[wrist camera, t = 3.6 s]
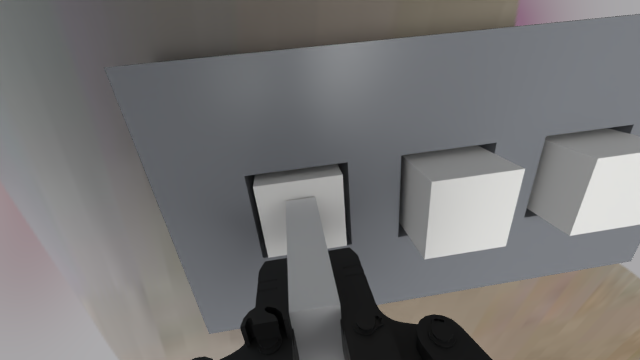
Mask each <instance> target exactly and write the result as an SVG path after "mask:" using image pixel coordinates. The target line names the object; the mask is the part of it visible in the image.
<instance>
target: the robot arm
mask: <svg viewBox="0 0 640 360" xmlns="http://www.w3.org/2000/svg"><path fill="white" fill-rule="evenodd" d="M286 232H287V258H283V259H277V260H270V261H265V262H264V264H263V265H262V267H261V269H260V270H259V275H258V285H257V295H256V305H255V308H254V309H252V310H251V311H249V312H248V313H247V315H246V316H245V317H244V318H243V321H242V323H241V326H240V328H241V331H242V335H243V338H244V341H245V344H244V345H243V346H242V347H241V348H240V349H239V350H237V351H236V352H234V353H232V354H230V355H228V356H226V357H224V358H222V359H220V360H492V359H491V358H490V357H489V356H488V355H487V354H486V353H485V352H484V350H483V349H482V348H481V347H480V346H479V345H478V344H477V343H476V342H475V341H474V340H473V339H472V338H471V337H470V336H469V335H468V334H467V333H466V332H465V331H464V329H463V328H462V327H461V326H460V325H458V324H457V323H456V322H455V321H453V320H452V319H450V318H447V317H445V316H442V315H434V314H433V315H429V316H425V317H424V318H423V319H421V320H420V321H419V323H418V324H410V323H403V322H398V321H394V320H392V319H390V318H388V317H387V316H385V315H384V314H383V313H382V312H381V311H380V310H379V308H378V307H377V305H376V302H375V300H374V297H373V294H372V292H371V289H370V286H369V284H368V281H367V278H366V276H365V274H364V270H363V268H362V266H361V262H360V260H359V257H358V255H357V254H356V253H355V252H354V251H353V250H352V249H351V248H350V247H349V248H342V249H336V250H329V251H328V249H327V245H326V241H325V236H324V232H323V228H322V224H321V219H320V215H319V211H318V206H317V202H316V198H315V197H312V198H305V199H298V200H291V201H286ZM192 360H213V359H211V358H208V357H199V358H194V359H192Z"/></svg>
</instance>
